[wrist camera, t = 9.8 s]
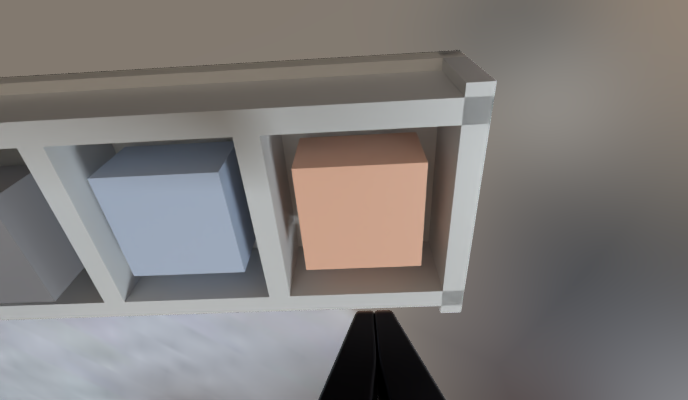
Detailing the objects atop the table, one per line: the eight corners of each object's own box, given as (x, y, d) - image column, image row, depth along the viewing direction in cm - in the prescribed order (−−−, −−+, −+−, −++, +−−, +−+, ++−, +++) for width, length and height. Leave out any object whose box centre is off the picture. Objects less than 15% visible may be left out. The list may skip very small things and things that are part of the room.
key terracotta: (311, 230, 16) (306, 270, 14) (299, 137, 14) (291, 169, 12) (411, 226, 16) (421, 265, 14) (416, 132, 14) (428, 162, 12)
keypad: (-94, 267, 19) (-187, 333, 16) (-253, 92, 15) (-434, 132, 11) (440, 247, 18) (460, 312, 15) (459, 50, 13) (496, 80, 10)
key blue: (160, 236, 16) (134, 276, 14) (124, 146, 14) (87, 178, 12) (257, 232, 16) (244, 272, 14) (237, 141, 14) (217, 172, 12)
